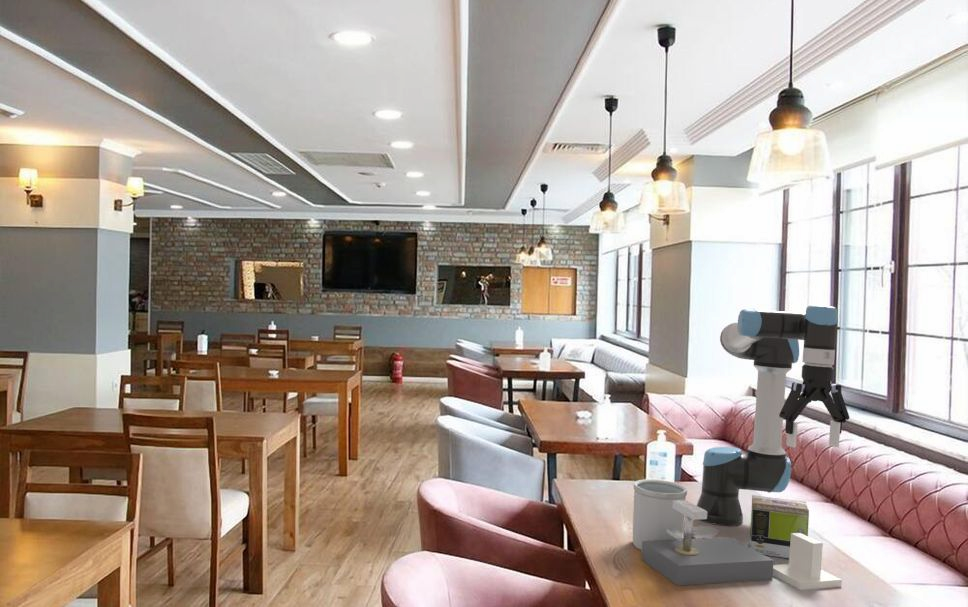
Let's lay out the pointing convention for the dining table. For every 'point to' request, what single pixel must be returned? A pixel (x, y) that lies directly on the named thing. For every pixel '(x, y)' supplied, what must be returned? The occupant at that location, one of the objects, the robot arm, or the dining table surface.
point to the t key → (687, 521)
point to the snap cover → (805, 565)
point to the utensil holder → (656, 510)
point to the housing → (707, 561)
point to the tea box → (776, 524)
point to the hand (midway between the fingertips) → (812, 446)
